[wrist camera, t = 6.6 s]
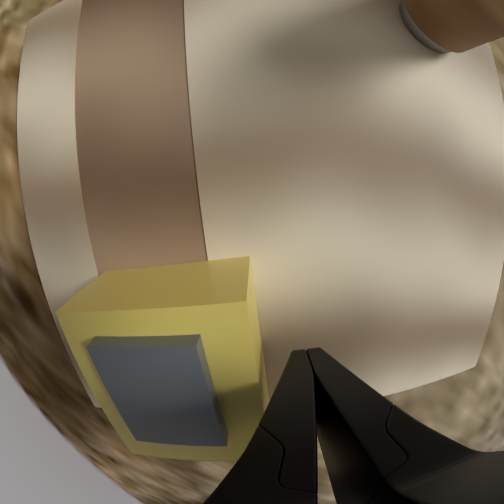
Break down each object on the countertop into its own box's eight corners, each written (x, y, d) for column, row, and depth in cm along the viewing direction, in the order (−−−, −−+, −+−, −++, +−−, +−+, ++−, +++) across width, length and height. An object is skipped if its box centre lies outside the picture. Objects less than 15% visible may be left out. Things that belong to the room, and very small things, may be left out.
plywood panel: (466, 356, 11) (475, 366, 10) (102, 394, 12) (94, 406, 11) (459, -1, 6) (469, -8, 5) (40, 27, 7) (27, 21, 6)
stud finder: (268, 399, 10) (271, 471, 7) (151, 401, 11) (127, 463, 7) (249, 255, 9) (244, 313, 5) (104, 271, 9) (45, 320, 6)
